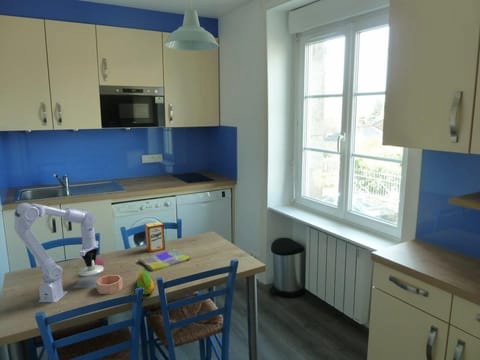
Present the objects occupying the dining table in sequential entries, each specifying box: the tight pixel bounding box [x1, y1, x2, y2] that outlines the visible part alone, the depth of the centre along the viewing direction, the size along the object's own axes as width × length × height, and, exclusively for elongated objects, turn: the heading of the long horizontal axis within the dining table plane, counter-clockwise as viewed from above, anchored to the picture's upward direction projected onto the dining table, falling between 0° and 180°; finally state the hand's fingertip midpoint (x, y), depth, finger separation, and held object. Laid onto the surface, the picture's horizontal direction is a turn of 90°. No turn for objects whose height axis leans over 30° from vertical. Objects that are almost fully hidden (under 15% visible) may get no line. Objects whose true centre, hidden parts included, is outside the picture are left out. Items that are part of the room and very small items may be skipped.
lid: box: [78, 260, 105, 277], centre depth 171 cm, size 11×11×5 cm
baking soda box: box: [144, 221, 166, 254], centre depth 213 cm, size 10×6×16 cm
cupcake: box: [94, 256, 105, 268], centre depth 182 cm, size 9×8×12 cm
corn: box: [135, 270, 155, 295], centre depth 166 cm, size 7×8×20 cm
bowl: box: [96, 274, 124, 295], centre depth 166 cm, size 11×11×4 cm
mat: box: [72, 275, 105, 289], centre depth 173 cm, size 12×12×1 cm
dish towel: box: [137, 248, 191, 272], centre depth 197 cm, size 18×24×3 cm
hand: (91, 264), depth 171 cm, fingers closed on lid, 3 cm apart
